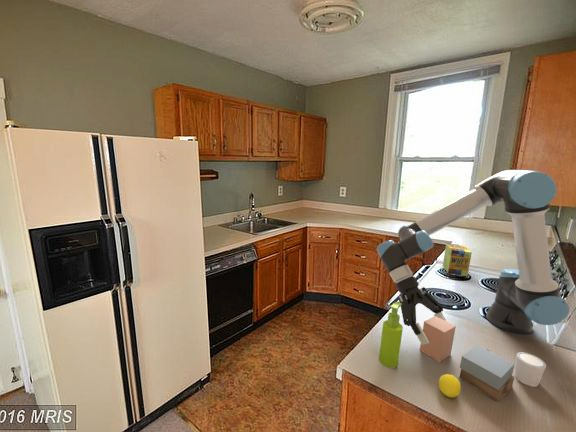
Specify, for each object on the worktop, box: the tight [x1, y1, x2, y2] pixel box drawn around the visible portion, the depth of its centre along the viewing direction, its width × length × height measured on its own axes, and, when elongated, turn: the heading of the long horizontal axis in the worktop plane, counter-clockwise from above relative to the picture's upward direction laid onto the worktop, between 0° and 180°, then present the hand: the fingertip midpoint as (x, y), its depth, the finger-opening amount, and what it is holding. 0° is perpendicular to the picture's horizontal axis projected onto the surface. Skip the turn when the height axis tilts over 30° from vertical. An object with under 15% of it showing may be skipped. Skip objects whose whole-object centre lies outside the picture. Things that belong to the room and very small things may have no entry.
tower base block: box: [458, 368, 515, 402], centre depth 83 cm, size 10×10×4 cm
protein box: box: [442, 242, 472, 278], centre depth 168 cm, size 10×15×16 cm
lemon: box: [438, 373, 462, 398], centre depth 78 cm, size 7×5×5 cm
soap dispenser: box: [378, 301, 404, 369], centre depth 89 cm, size 6×7×20 cm
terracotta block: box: [419, 315, 457, 363], centre depth 95 cm, size 7×7×11 cm
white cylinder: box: [514, 351, 547, 388], centre depth 84 cm, size 7×7×7 cm
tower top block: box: [459, 344, 515, 390], centre depth 82 cm, size 10×10×4 cm
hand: (437, 337), depth 94 cm, fingers open, 13 cm apart
